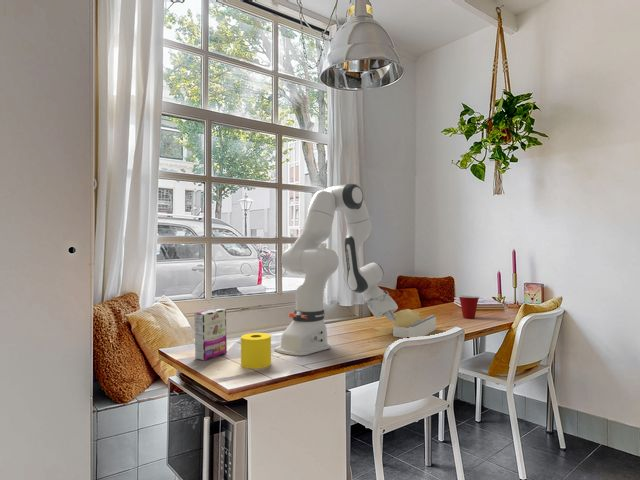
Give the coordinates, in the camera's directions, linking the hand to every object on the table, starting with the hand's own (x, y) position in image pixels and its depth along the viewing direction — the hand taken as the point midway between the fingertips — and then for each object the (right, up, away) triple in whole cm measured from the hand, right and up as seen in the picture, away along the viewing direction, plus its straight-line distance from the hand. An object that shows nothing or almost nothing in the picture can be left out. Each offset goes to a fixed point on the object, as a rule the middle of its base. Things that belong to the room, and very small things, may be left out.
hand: (394, 320), depth 190 cm
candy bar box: (-74, -5, -40) cm, 84 cm away
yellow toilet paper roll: (-56, -5, -49) cm, 75 cm away
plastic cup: (+45, -5, +32) cm, 56 cm away
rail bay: (+7, -5, -5) cm, 10 cm away
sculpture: (+5, -5, -4) cm, 8 cm away
